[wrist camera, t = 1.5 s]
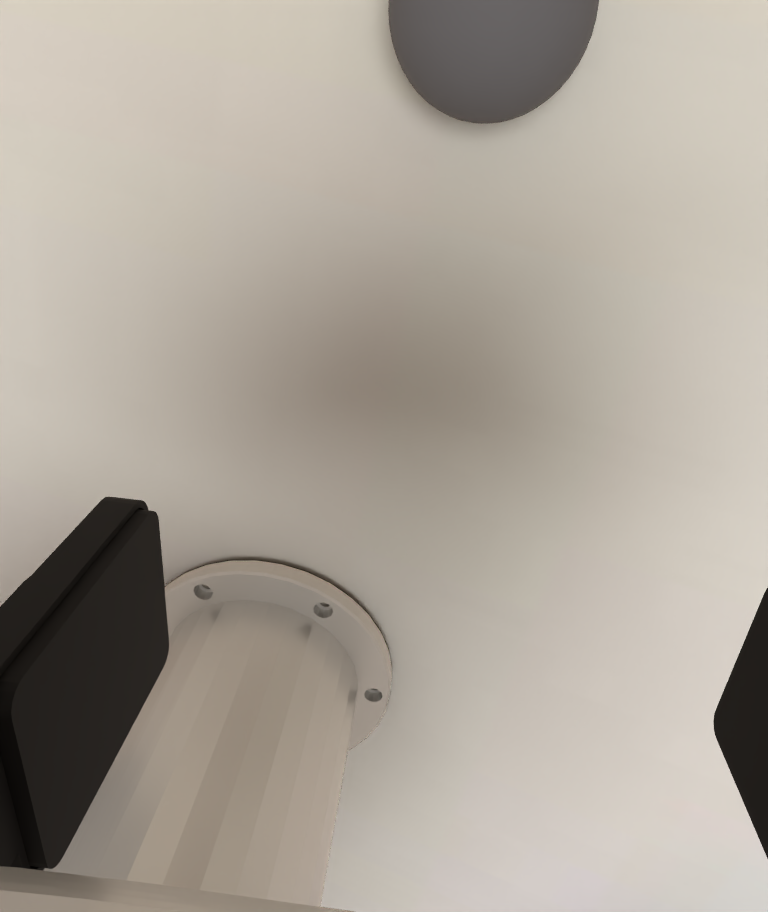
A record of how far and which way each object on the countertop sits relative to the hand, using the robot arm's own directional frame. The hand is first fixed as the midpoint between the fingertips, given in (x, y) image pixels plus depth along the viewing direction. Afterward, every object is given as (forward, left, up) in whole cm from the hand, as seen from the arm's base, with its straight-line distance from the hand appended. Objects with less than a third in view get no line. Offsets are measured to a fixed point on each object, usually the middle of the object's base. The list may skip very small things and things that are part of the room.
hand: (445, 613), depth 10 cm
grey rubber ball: (+8, +5, -13) cm, 16 cm away
